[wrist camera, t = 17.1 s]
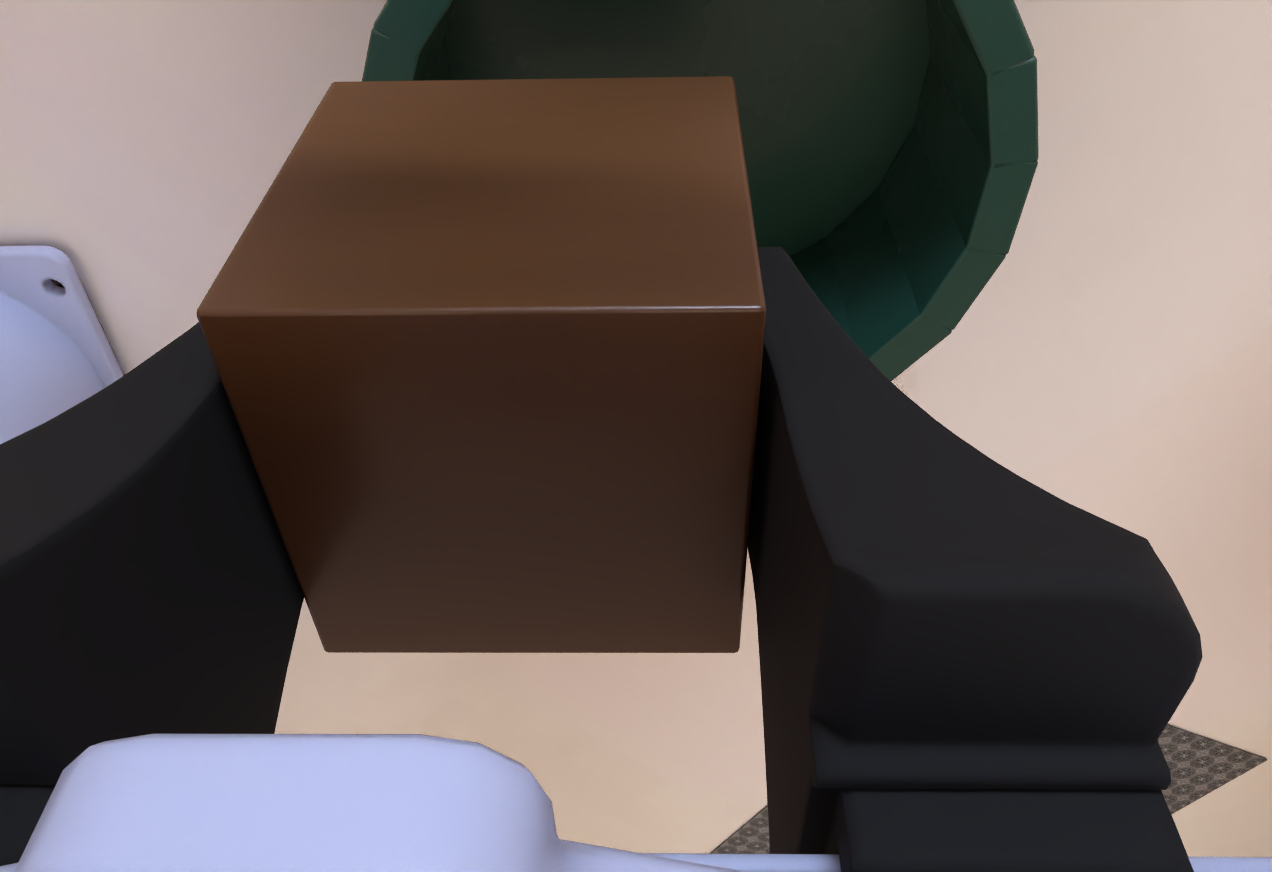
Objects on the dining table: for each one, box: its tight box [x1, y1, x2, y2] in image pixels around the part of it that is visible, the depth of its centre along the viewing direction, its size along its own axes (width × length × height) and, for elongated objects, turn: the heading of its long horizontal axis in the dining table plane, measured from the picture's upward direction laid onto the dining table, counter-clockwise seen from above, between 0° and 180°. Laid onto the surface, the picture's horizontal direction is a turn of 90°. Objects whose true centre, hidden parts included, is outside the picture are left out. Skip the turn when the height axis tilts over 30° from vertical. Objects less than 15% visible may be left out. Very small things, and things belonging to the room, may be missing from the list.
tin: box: [362, 0, 1038, 381], centre depth 19 cm, size 12×12×5 cm
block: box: [197, 76, 766, 653], centre depth 12 cm, size 5×5×5 cm
